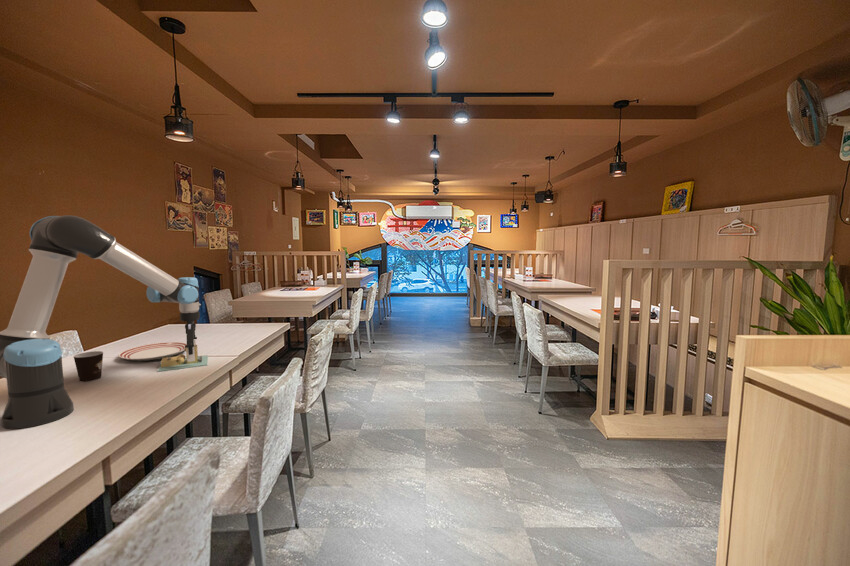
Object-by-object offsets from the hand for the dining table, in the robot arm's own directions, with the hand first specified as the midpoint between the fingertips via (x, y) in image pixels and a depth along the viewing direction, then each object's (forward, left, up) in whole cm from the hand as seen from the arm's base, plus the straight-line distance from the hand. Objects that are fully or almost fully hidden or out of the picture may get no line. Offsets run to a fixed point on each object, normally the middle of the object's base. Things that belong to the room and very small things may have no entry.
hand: (192, 357), depth 165 cm
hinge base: (0, +3, -2) cm, 4 cm away
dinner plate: (+22, +16, -3) cm, 27 cm away
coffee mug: (-4, +33, -3) cm, 33 cm away
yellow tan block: (0, 0, -2) cm, 2 cm away
